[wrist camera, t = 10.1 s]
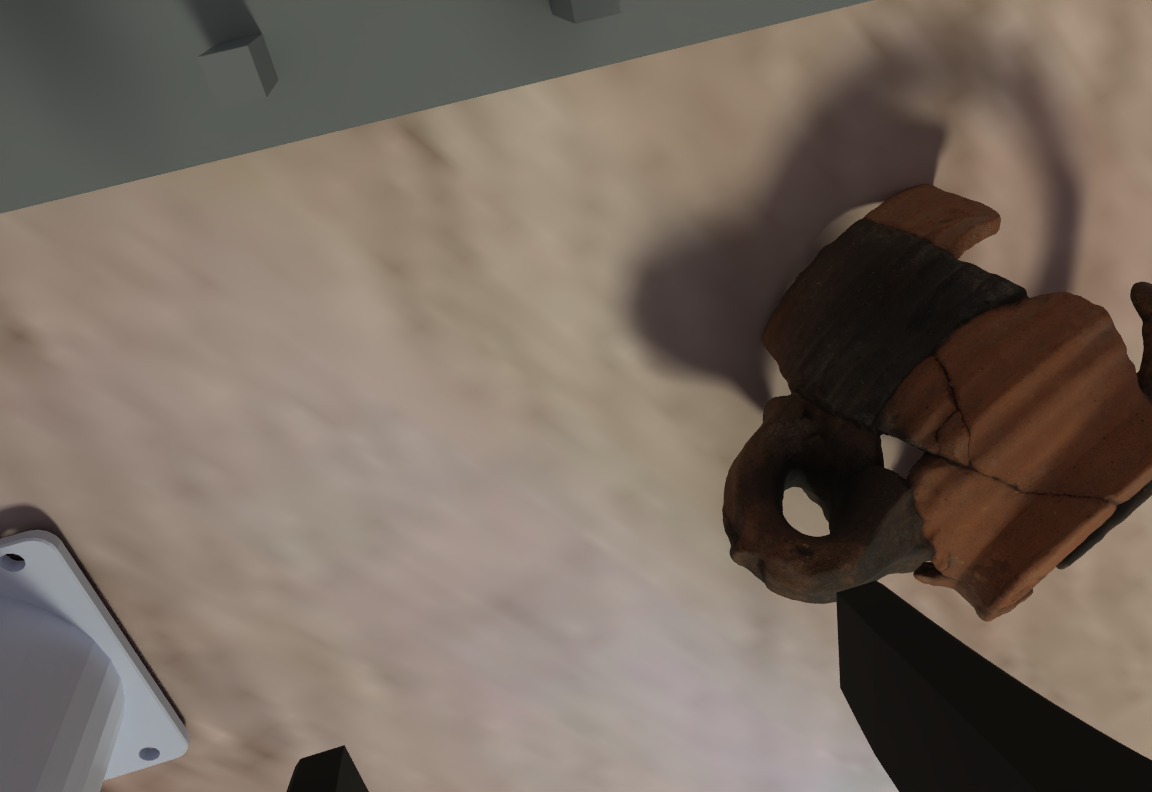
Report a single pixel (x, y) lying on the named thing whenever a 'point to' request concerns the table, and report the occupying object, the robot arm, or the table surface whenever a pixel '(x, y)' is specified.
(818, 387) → the pottery mug
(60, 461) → the table surface
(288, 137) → the miniature lathe model
